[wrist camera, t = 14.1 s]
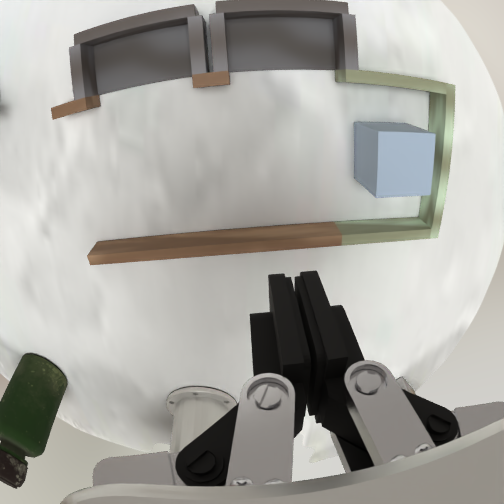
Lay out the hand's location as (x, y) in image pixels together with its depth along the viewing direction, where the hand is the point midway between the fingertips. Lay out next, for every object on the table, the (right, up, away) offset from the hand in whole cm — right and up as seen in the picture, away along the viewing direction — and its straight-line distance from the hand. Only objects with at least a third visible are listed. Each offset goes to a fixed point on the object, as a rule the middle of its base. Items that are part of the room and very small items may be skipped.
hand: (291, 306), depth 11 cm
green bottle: (-41, -21, +35) cm, 58 cm away
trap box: (-1, +14, +17) cm, 22 cm away
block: (+12, +13, +19) cm, 25 cm away
